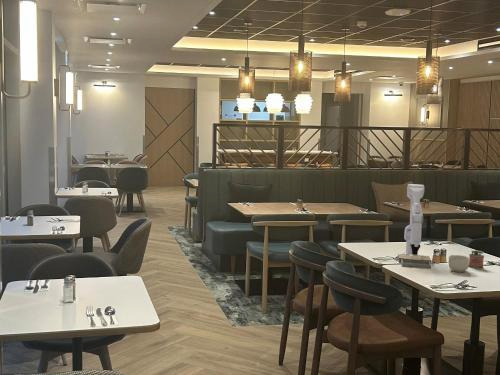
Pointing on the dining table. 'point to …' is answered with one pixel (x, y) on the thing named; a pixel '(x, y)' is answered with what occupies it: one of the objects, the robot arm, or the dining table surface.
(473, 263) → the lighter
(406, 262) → the tray
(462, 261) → the teacup
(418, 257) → the tile
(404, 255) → the board
